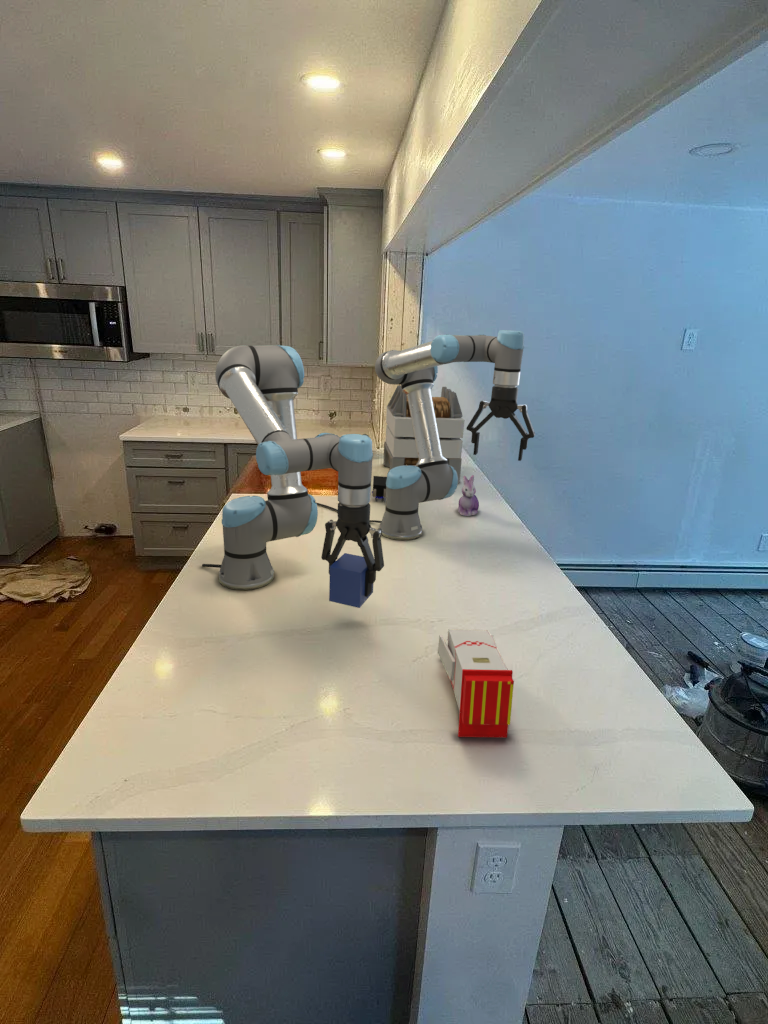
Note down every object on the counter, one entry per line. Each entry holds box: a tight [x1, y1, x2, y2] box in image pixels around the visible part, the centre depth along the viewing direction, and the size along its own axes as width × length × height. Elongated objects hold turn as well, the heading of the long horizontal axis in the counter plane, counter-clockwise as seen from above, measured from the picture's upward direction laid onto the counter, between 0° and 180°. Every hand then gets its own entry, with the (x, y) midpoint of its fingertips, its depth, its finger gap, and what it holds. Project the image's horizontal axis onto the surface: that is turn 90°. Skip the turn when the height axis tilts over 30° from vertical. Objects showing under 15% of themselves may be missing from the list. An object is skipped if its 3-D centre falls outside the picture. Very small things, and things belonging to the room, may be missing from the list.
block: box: [328, 552, 374, 609], centre depth 137 cm, size 9×8×9 cm
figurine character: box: [371, 475, 387, 502], centre depth 236 cm, size 7×8×15 cm
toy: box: [437, 628, 515, 738], centre depth 117 cm, size 12×13×30 cm
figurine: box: [457, 474, 480, 517], centre depth 221 cm, size 9×10×15 cm
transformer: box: [383, 384, 465, 484], centre depth 268 cm, size 34×33×41 cm
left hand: (351, 590), depth 138 cm, fingers closed on block, 8 cm apart
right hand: (497, 456), depth 172 cm, fingers open, 13 cm apart
